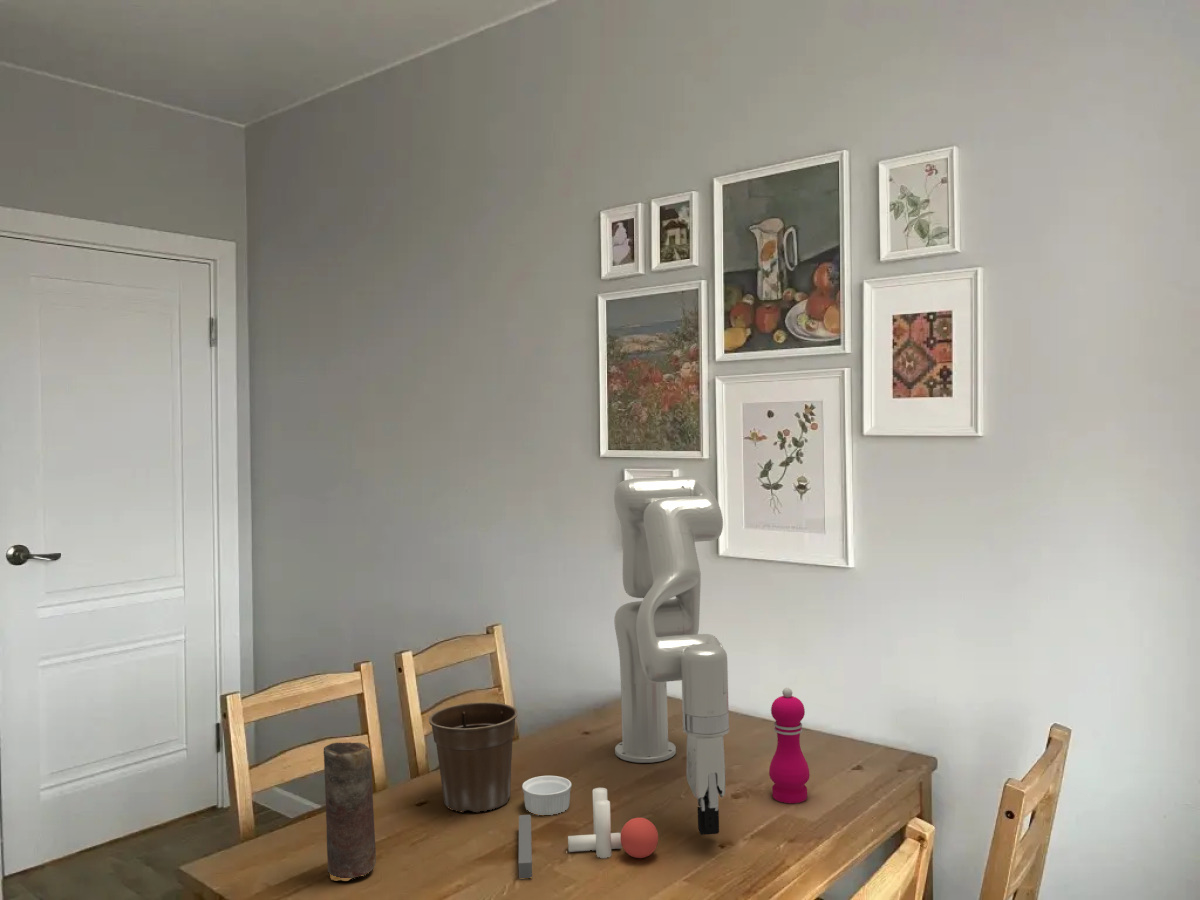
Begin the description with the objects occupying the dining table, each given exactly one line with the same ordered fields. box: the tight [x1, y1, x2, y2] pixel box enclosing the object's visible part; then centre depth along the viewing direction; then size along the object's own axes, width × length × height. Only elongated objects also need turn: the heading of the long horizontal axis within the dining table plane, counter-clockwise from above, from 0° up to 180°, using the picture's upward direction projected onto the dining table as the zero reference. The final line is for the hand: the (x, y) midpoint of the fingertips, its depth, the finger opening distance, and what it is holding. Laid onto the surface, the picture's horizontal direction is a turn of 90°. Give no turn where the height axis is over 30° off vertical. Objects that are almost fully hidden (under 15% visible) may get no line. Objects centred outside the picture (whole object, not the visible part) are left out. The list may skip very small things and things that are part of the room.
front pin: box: [567, 832, 622, 853], centre depth 158 cm, size 2×2×8 cm
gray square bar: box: [518, 814, 533, 879], centre depth 157 cm, size 18×2×2 cm, turn 5°
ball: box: [620, 817, 659, 859], centre depth 154 cm, size 6×6×6 cm
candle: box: [323, 742, 377, 878], centre depth 151 cm, size 8×7×20 cm
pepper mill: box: [768, 687, 811, 804], centre depth 176 cm, size 7×7×20 cm
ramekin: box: [521, 775, 572, 816], centre depth 175 cm, size 9×9×4 cm
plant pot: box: [428, 701, 518, 813], centre depth 179 cm, size 16×16×16 cm
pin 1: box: [592, 787, 608, 834], centre depth 160 cm, size 2×2×8 cm
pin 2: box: [595, 799, 612, 859], centre depth 155 cm, size 2×2×8 cm
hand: (708, 832), depth 159 cm, fingers closed
